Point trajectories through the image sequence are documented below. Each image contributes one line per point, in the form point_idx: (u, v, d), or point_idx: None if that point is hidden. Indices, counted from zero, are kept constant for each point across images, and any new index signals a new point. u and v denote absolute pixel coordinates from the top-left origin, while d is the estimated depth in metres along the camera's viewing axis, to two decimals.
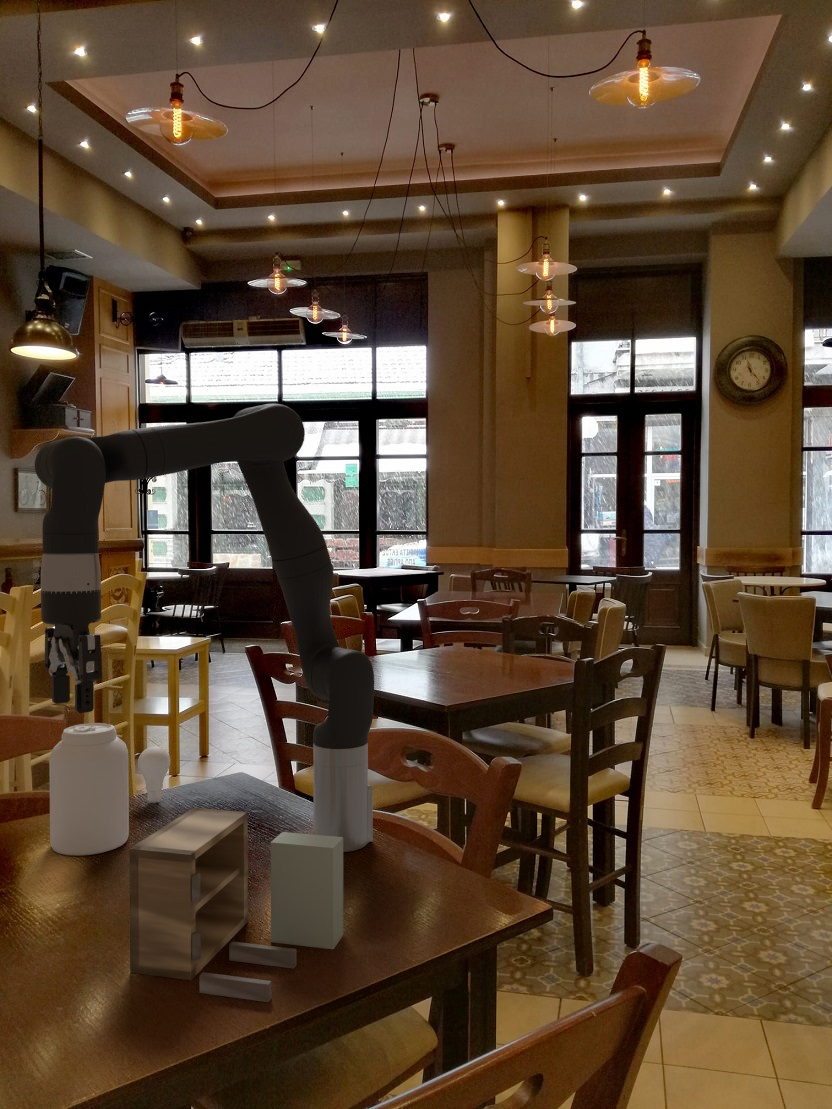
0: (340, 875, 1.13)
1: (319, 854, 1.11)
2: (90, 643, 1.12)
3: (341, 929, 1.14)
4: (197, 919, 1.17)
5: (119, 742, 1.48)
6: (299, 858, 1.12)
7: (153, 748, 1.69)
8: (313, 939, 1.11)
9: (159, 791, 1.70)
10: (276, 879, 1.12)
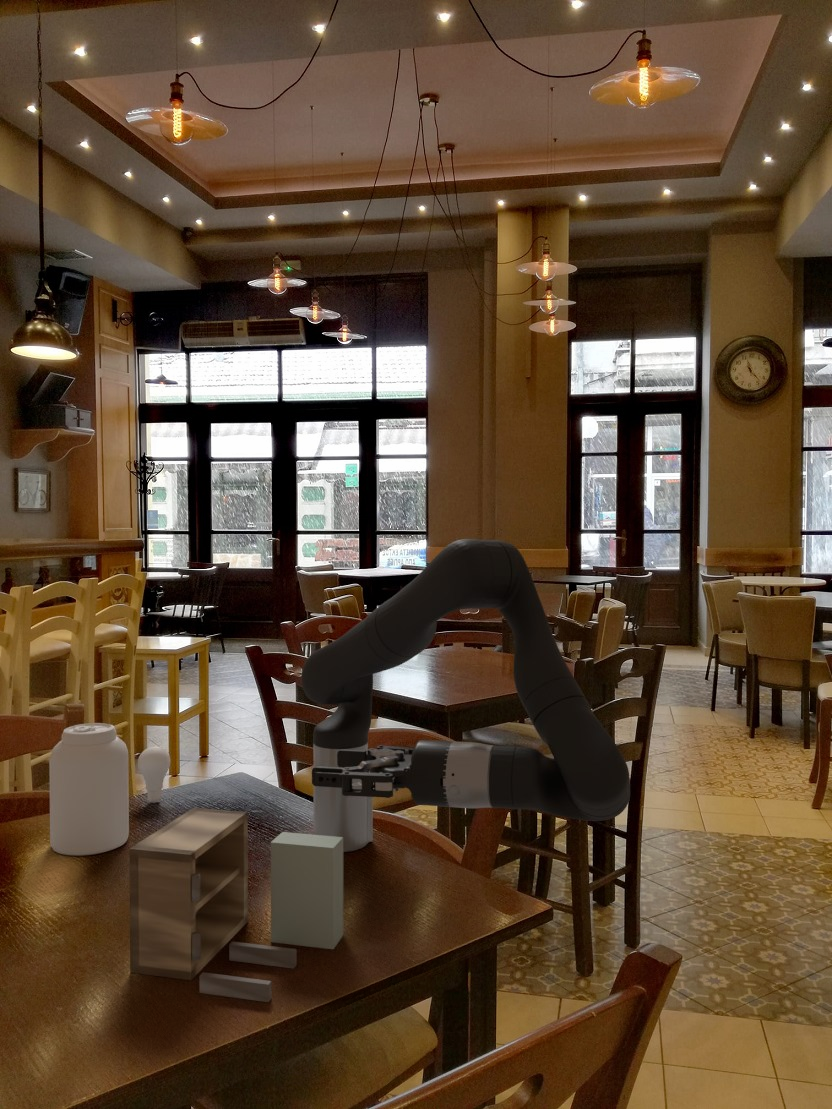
0: (340, 875, 1.13)
1: (319, 854, 1.11)
2: None
3: (341, 929, 1.14)
4: (197, 919, 1.17)
5: (119, 742, 1.48)
6: (299, 858, 1.12)
7: (153, 748, 1.69)
8: (313, 939, 1.11)
9: (159, 791, 1.70)
10: (276, 879, 1.12)
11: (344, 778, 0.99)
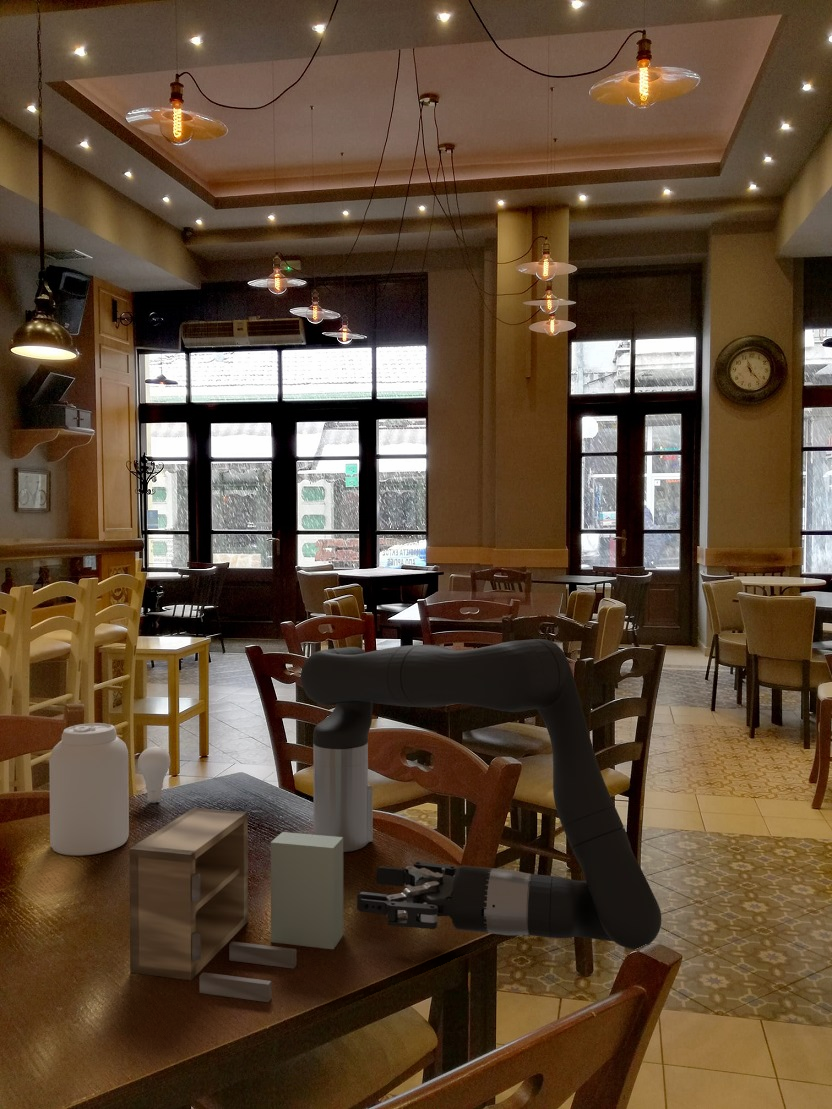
0: (340, 875, 1.13)
1: (319, 854, 1.11)
2: None
3: (341, 929, 1.14)
4: (197, 919, 1.17)
5: (119, 742, 1.48)
6: (299, 858, 1.11)
7: (153, 748, 1.69)
8: (313, 939, 1.11)
9: (159, 791, 1.70)
10: (276, 879, 1.12)
11: (390, 909, 1.04)
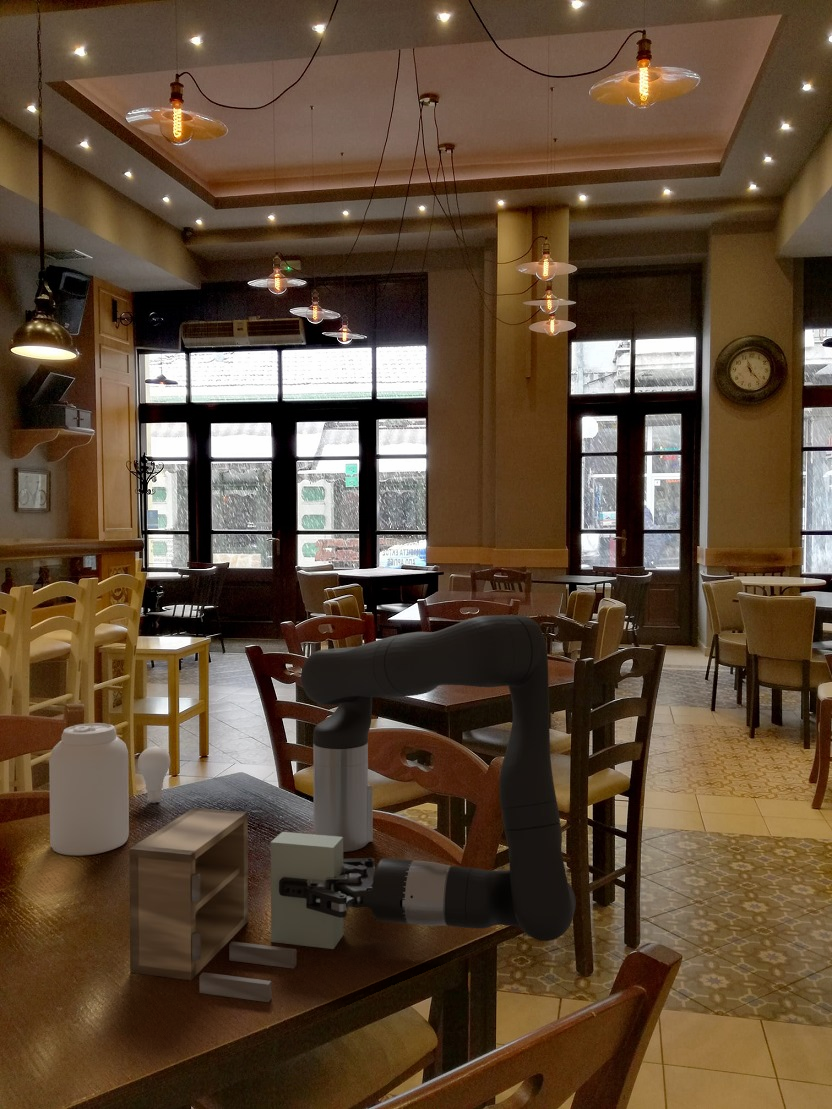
0: None
1: (319, 854, 1.11)
2: None
3: (341, 929, 1.14)
4: (197, 919, 1.17)
5: (119, 742, 1.48)
6: (299, 857, 1.11)
7: (153, 748, 1.69)
8: (313, 939, 1.11)
9: (159, 791, 1.70)
10: (276, 879, 1.12)
11: (307, 892, 1.08)
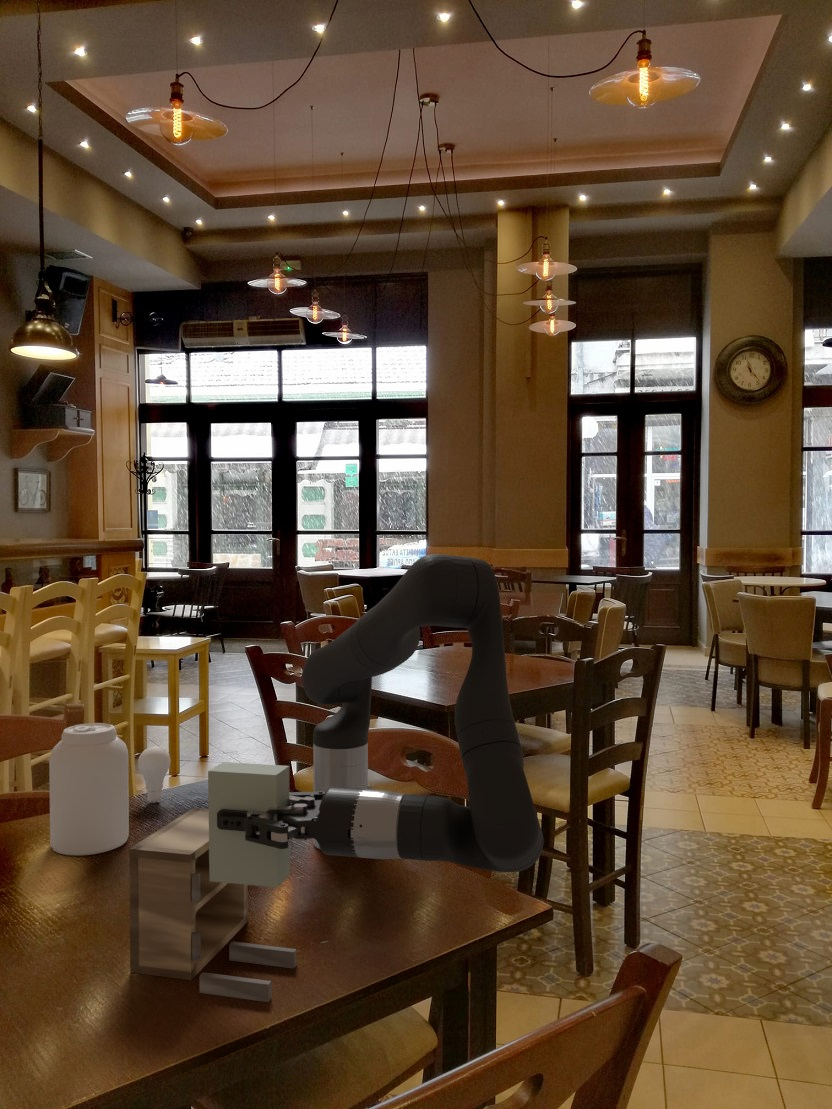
0: None
1: (261, 783, 1.00)
2: None
3: (287, 867, 1.03)
4: (197, 919, 1.17)
5: (119, 742, 1.48)
6: (239, 787, 1.01)
7: (153, 748, 1.69)
8: (255, 877, 1.01)
9: (159, 791, 1.70)
10: (215, 811, 1.02)
11: (246, 823, 0.98)
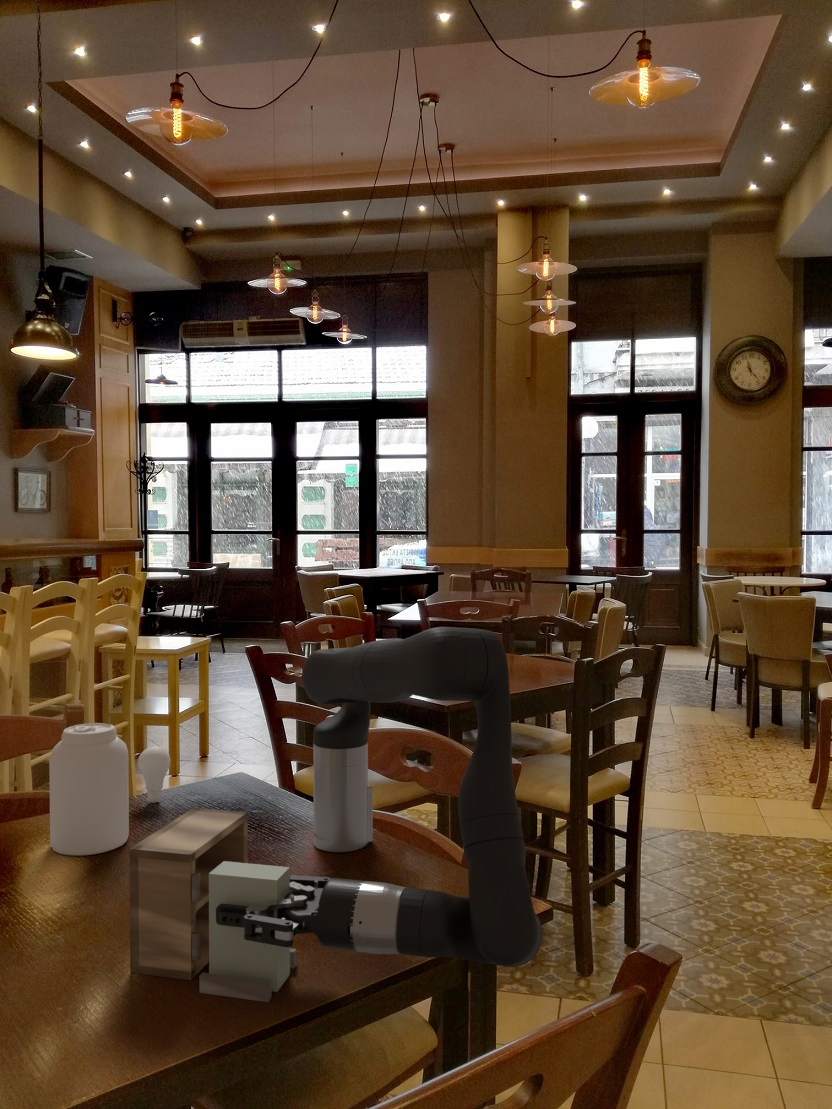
0: None
1: (261, 887, 1.01)
2: None
3: (287, 968, 1.04)
4: (197, 919, 1.17)
5: (119, 742, 1.48)
6: (240, 891, 1.01)
7: (153, 748, 1.69)
8: None
9: (159, 791, 1.70)
10: (215, 914, 1.02)
11: (246, 922, 0.97)
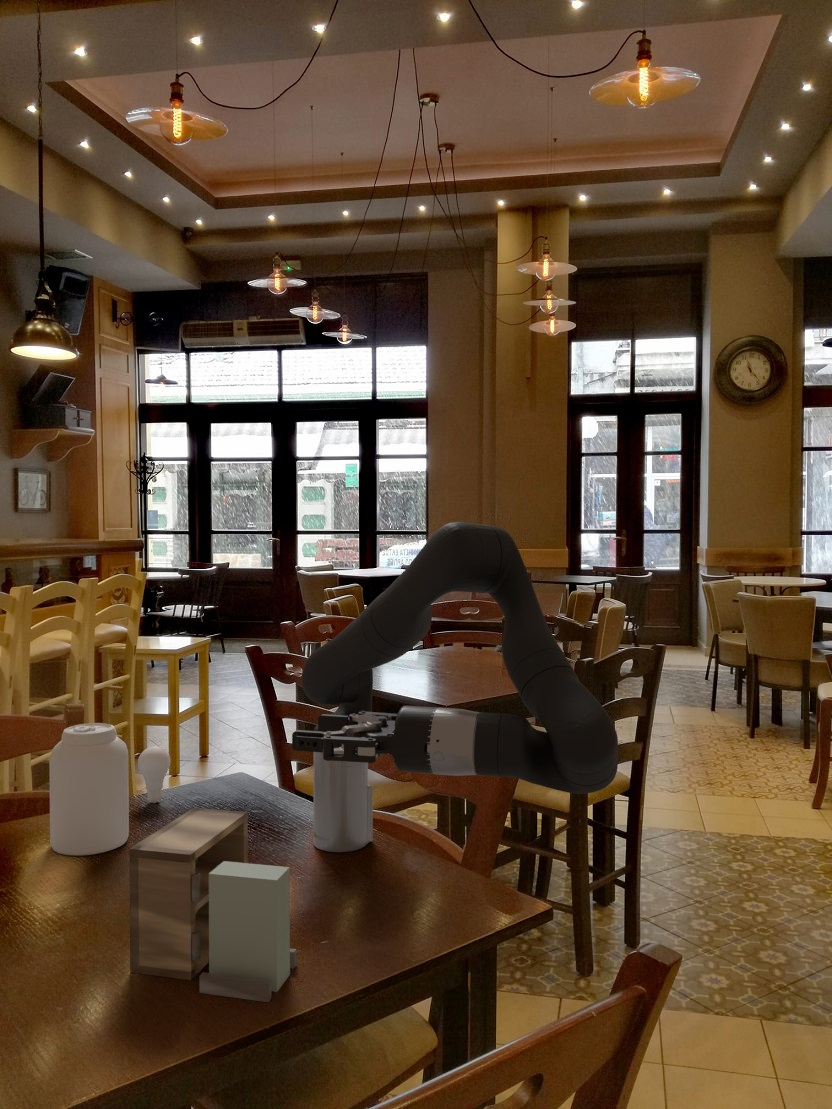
0: (286, 909, 1.03)
1: (261, 887, 1.01)
2: None
3: (287, 968, 1.04)
4: (197, 919, 1.17)
5: (119, 742, 1.48)
6: (240, 891, 1.01)
7: (153, 748, 1.69)
8: None
9: (159, 791, 1.70)
10: (215, 914, 1.02)
11: (326, 742, 0.96)
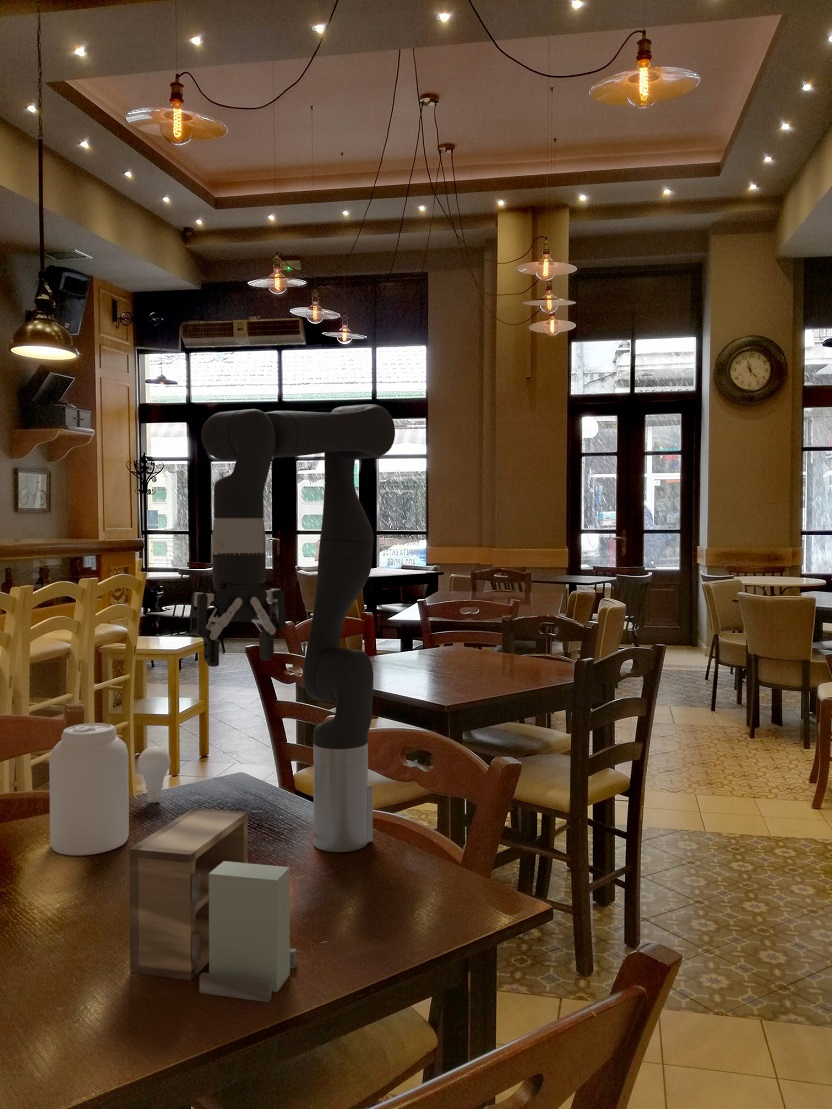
0: (286, 909, 1.03)
1: (261, 887, 1.01)
2: None
3: (287, 968, 1.04)
4: (197, 919, 1.17)
5: (119, 742, 1.48)
6: (240, 891, 1.01)
7: (153, 748, 1.69)
8: None
9: (159, 791, 1.70)
10: (215, 914, 1.02)
11: (192, 631, 1.21)
